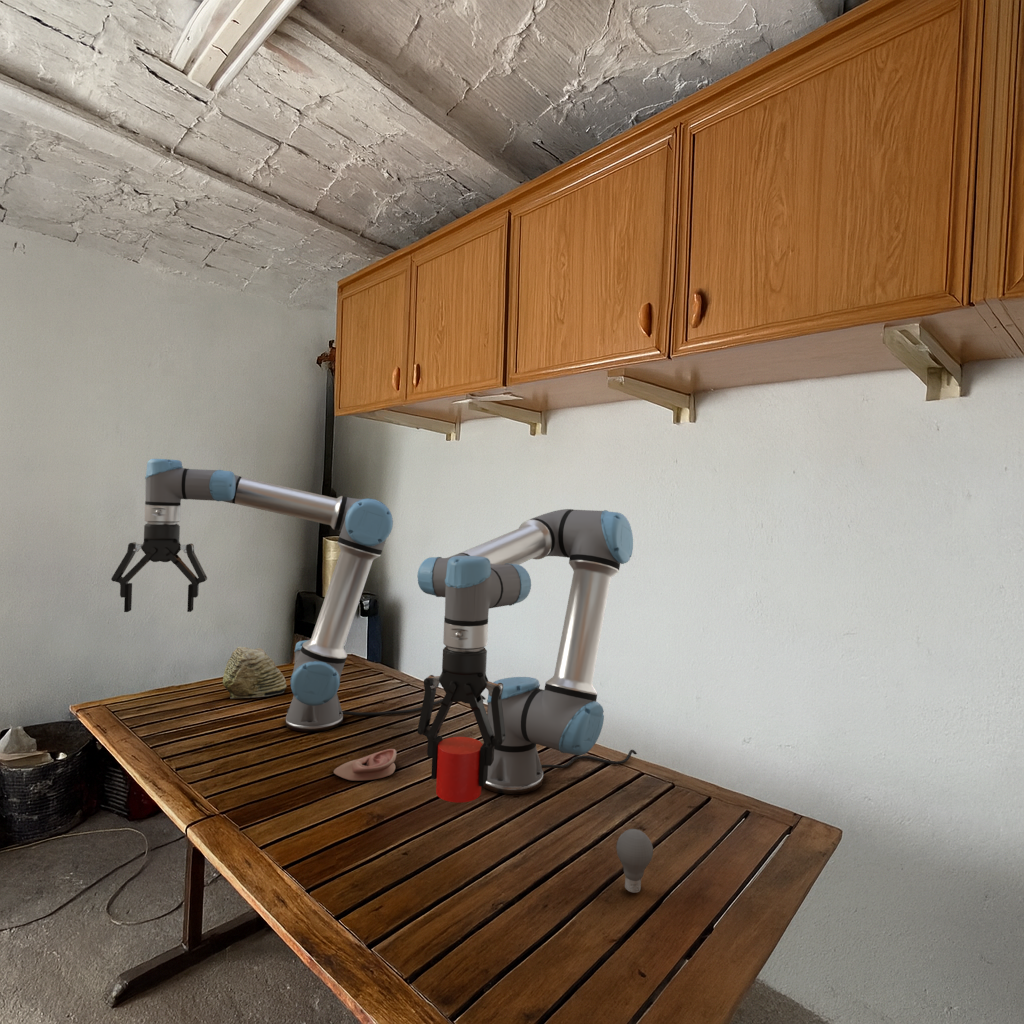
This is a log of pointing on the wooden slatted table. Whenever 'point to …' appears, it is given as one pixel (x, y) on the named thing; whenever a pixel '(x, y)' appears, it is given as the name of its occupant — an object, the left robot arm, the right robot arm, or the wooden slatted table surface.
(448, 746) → the cylinder
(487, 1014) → the wooden slatted table surface
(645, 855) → the light bulb
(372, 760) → the anatomical model
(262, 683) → the fossil
